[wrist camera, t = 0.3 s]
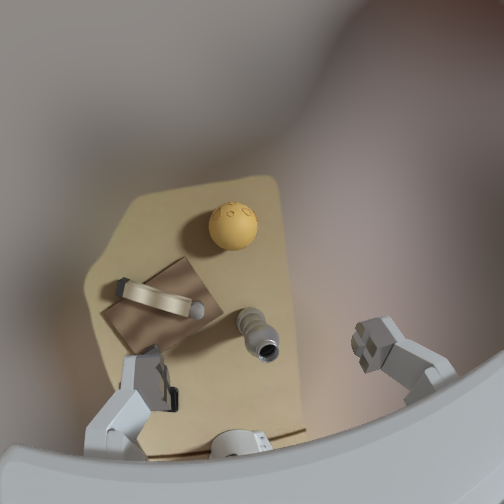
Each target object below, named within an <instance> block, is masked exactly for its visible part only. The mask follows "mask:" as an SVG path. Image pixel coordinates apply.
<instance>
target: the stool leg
mask: <svg viewBox="0 0 504 504" xmlns="http://www.w3.org/2000/svg"><path fill="white" fill-rule="evenodd" d="M116 296H119V297H124V298H127V299H130V300H133V301H136V302H139V303H142V304H146V305H149V306H152V307H155V308H158V309H162V310H165V311H168V312H172V313H175V314H178V315H182V316H185V317H188V314H189V315H190V317H191V318H192V319H194V320H199V319H201V318H202V317H203V316H204V305H203V303H202V302H201V301H198V300H195V301H193V302H192V299H190V298H186V297H183V296H180V295H176V294H173V293H170V292H166V291H163V290H160V289H157V288H153V287H150V286H147V285H144V284H141V283H138V282H135V281H132V280H130V279H127V278H124V277H123V278H122V279H120V280H119V281H118V285H117V290H116Z"/></svg>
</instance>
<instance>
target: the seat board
mask: <svg viewBox="0 0 504 504" xmlns="http://www.w3.org/2000/svg"><path fill="white" fill-rule="evenodd" d="M144 285H147V286H150V287H153V288H157V289H160V290H163V291H166V292H170V293H173V294H176V295H180V296H183V297H186V298H190V299H192V302H193V301H195V300H198V301H201V302H202V303H203V305H204V316H203V317H202V318H201V319H199V320H194V319H192V318H191V317H190V315H189V314H188V317H185V316H182V315H178V314H175V313H172V312H168V311H165V310H162V309H158V308H155V307H152V306H149V305H146V304H142V303H139V302H136V301H133V300H130V299H127V298H123V299H122V300H120V301H119V302H118V303H116V304H115V305H113V306H112V307H110V308H109V309H108V310H106V311H105V312H104V313H105V314H106V316H107V317H108V318H109V320H110V321H111V323H112V324H113V325H114V327H115V328H116V329H117V331H118V332H119V334H120V335H121V336H122V338H123V339H124V340H125V342H126V343H127V344H128V345H129V347H130V348H131V349H132V351H133V352H134V353H135V354H136V355H156V354H160V353H162V352H163V351H165V350H167V349H168V348H170V347H171V346H173V345H175V344H176V343H178V342H179V341H181V340H183V339H184V338H186V337H187V336H189V335H191V334H192V333H194V332H195V331H197V330H199V329H200V328H202V327H203V326H205V325H206V324H208V323H209V322H211V321H213V320H214V319H216V318H217V317H219V316H220V315H222V314H223V311H222V310H221V308H220V307H219V305H218V304H217V303H216V301H215V300H214V298H213V297H212V295H211V294H210V292H209V291H208V290H207V288H206V287H205V285H204V284H203V282H202V281H201V279H200V278H199V276H198V275H197V273H196V272H195V270H194V269H193V267H192V266H191V264H190V263H189V261H188V260H187V258H186V257H183V258H182V259H180V260H179V261H177V262H176V263H174V264H173V265H171V266H170V267H168V268H167V269H165V270H164V271H163V272H161V273H160V274H158V275H157V276H155V277H154V278H152V279H151V280H149V281H148V282H146V283H145V284H144Z"/></svg>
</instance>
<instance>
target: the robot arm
mask: <svg viewBox="0 0 504 504" xmlns="http://www.w3.org/2000/svg"><path fill="white" fill-rule="evenodd" d="M355 329H356V332H355V334H353V336H352V339H351V346H352V349H353V352H354V354H355V355H356V356H358V357H360V361H359V363H360V365H361V367H362V369H363V371H364V372H365V374H366V373H369V372H372V371H376V370H379V369H381V370H382V371H383V372H385V373H386V374H388V375H389V376H390V377H392V378H393V379H394V380H396V381H397V382H399V383H400V384H401V385H403V386H404V387H405V388H407V389H408V390H410V392H409V393H408V394H407V396H406V397H405V399H404V401H405V403H406V405H407V406H406V407H404V408H401V409H399V410H397V411H395V412H392V413H390V414H388V415H385V416H383V417H380V418H378V419H375V420H373V421H370V422H368V423H365V424H362V425H359V426H357V427H354V428H351V429H348V430H345V431H342V432H339V433H336V434H333V435H329V436H326V437H322V438H319V439H316V440H312V441H308V442H304V443H300V444H296V445H292V446H288V447H283V448H278V449H273V447H272V446H271V444H270V442H269V440H268V439H267V437H266V435H265V433H264V432H263V431H253V432H252V431H246V430H231V431H227V432H224V433H222V434H220V435H219V436H217V437H216V438H215V439H214V440H213V442H212V444H211V453H210V455H209V459H203V460H189V461H145V459H144V453H143V452H141V450H139V449H138V448H137V447H136V446H135V445H134V444H133V443H134V442H135V440H136V438H137V436H138V435H139V433H140V431H141V430H142V428H143V426H144V424H145V423H146V421H147V419H148V418H149V416H150V414H151V411H164V410H171V396H170V394H169V392H168V389H169V388H170V376H169V371H168V368H167V366H166V365H165V364H164V358H163V356H162V354H156V355H130V356H125V358H124V361H123V369H122V377H121V387H120V390H116V392H115V393H114V394H113V395H112V397H111V398H110V399H109V400H108V401H107V403H106V404H105V405H104V406H103V408H102V409H101V410H100V411H99V413H98V414H97V415H96V416H95V418H94V419H93V420H92V421H91V423H90V424H89V425H88V426H87V428H86V434H85V445H84V457H83V456H77V455H70V454H64V453H59V452H54V451H49V450H44V449H40V448H35V447H32V446H28V445H24V444H20V443H13V444H11V445H10V446H9V447H8V448H7V449H6V450H5V451H4V452H3V453H2V454H1V455H0V504H504V350H503V351H500V352H498V353H497V354H496V355H494V356H493V357H492V358H490V359H489V360H487V361H486V362H484V363H483V364H481V365H480V366H478V367H477V368H475V369H474V370H472V371H470V372H469V373H467V374H466V375H464V376H462V377H461V378H459V376H458V374H457V373H456V371H455V370H454V369H453V367H452V365H451V364H450V363H449V361H448V360H447V359H446V358H444V357H442V356H440V355H439V354H436V353H435V352H432V351H431V350H429V349H427V348H425V347H423V346H421V345H419V344H417V343H415V342H414V341H412V340H410V339H405V337H404V336H403V335H402V333H401V332H400V330H399V329H398V328H397V326H396V325H395V323H394V322H393V321H392V319H391V318H390V317H389V316H388V315H385V316H381V317H378V318H373V319H370V320H366V321H362V322H359V323H357V325H356V327H355Z"/></svg>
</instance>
